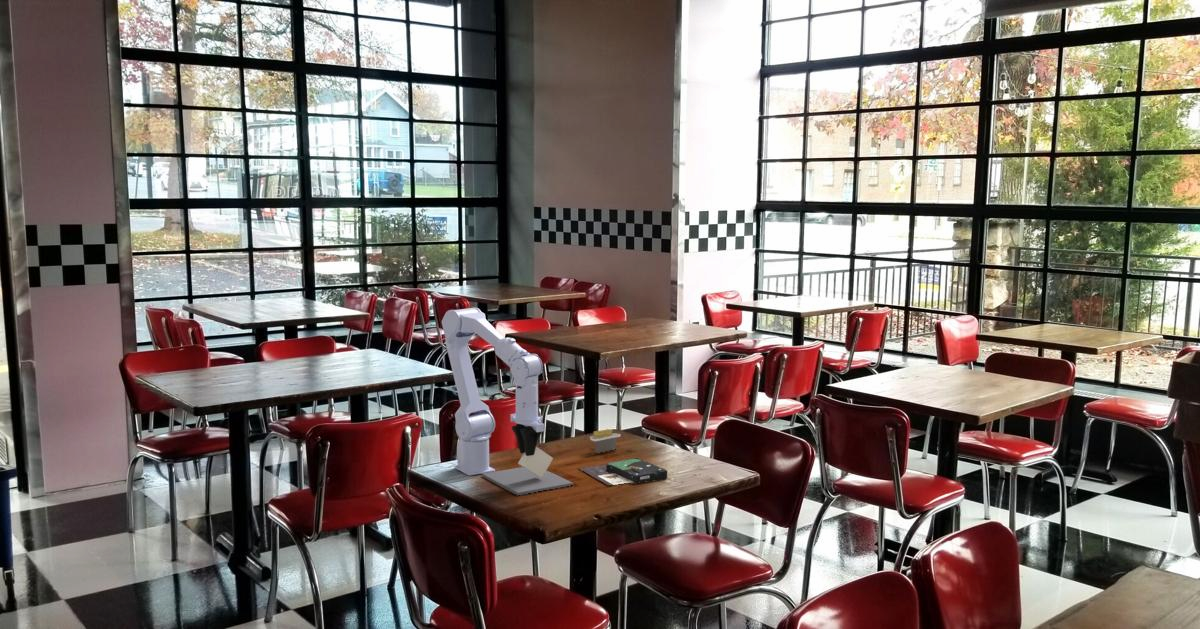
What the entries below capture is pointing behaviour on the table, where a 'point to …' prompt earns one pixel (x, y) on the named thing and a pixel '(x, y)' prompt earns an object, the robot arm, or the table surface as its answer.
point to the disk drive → (637, 470)
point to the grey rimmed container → (604, 440)
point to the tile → (536, 462)
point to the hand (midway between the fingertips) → (527, 453)
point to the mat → (525, 480)
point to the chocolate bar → (605, 475)
